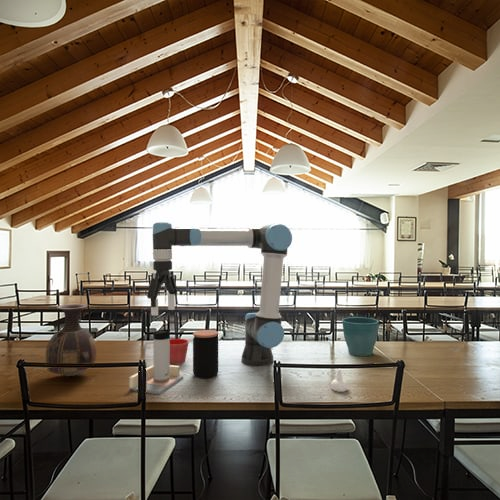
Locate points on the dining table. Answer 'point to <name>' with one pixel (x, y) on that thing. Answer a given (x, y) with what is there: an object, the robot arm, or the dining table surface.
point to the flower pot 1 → (178, 350)
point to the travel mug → (161, 355)
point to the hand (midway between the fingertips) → (163, 312)
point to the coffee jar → (205, 354)
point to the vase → (71, 343)
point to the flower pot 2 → (360, 335)
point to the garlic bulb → (339, 383)
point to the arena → (156, 386)
